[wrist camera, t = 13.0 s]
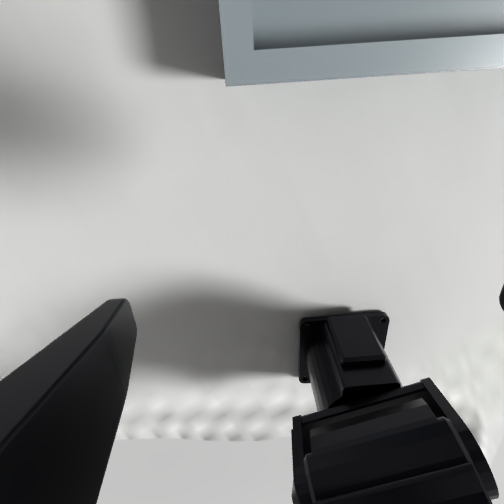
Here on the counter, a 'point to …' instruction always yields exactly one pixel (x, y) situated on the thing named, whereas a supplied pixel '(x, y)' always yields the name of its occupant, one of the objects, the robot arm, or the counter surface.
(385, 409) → the robot arm
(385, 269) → the counter surface
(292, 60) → the gray square tray
